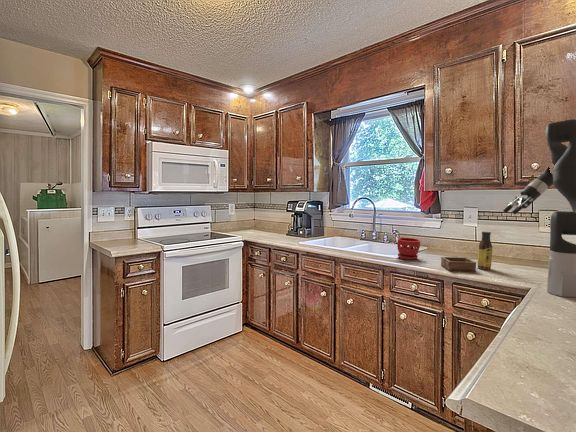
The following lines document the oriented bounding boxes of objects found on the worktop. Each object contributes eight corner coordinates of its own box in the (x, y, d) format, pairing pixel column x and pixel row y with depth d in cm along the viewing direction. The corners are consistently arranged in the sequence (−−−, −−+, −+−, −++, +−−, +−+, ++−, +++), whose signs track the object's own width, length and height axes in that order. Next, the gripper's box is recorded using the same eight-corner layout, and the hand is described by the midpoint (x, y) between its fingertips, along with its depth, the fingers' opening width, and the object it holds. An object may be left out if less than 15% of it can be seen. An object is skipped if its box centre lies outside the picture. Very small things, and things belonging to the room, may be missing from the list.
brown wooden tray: (475, 272, 165) (476, 262, 165) (448, 271, 167) (449, 261, 167) (466, 266, 177) (466, 257, 177) (441, 265, 179) (441, 256, 179)
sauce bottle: (487, 270, 168) (489, 232, 166) (475, 268, 173) (476, 231, 171) (493, 269, 172) (495, 231, 170) (480, 266, 177) (482, 230, 175)
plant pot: (396, 259, 194) (397, 240, 194) (397, 255, 207) (397, 236, 206) (420, 261, 190) (421, 241, 189) (419, 256, 203) (419, 237, 202)
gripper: (520, 185, 173) (496, 206, 175) (537, 184, 159) (510, 208, 161) (530, 195, 173) (506, 216, 175) (548, 195, 159) (521, 218, 161)
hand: (508, 212), depth 168 cm, fingers open, 8 cm apart
